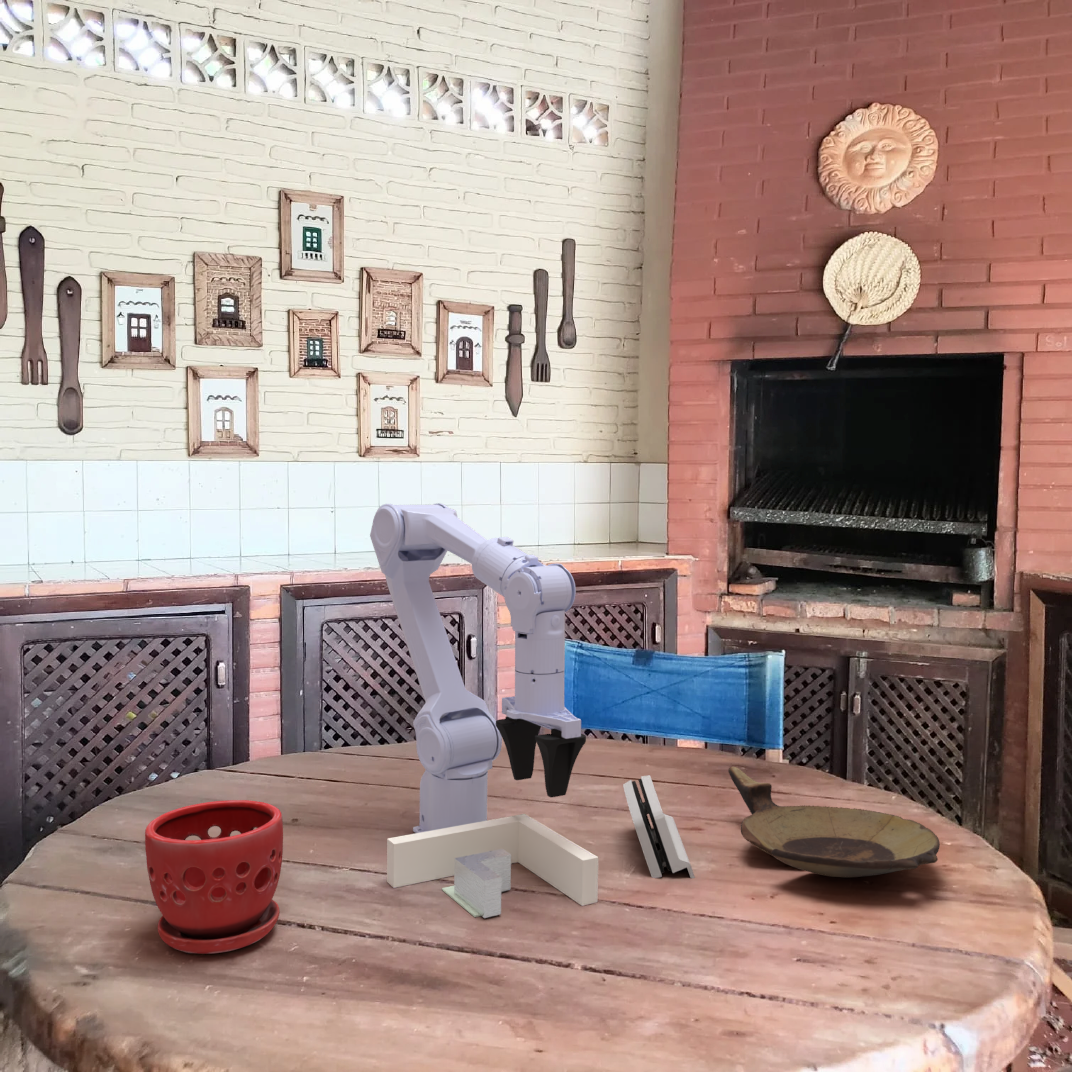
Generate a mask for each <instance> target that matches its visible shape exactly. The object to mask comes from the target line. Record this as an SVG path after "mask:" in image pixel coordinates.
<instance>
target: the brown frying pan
mask: <svg viewBox="0 0 1072 1072" xmlns="http://www.w3.org/2000/svg"><path fill="white" fill-rule="evenodd" d="M727 772H728V774H729V776H730V778H731V780H732V782H733V784H734V786H735V787H736V789H737V790H738V793H739V794H740V796H741V798H742V799H743V802H744V803H745V804H746V807H747V809H748V810H749V812H750V815H748V816H746V817H745V818H744V819H743V820H742V821H741V823H740V833H741V835H742V837H743V838H744V839H745V840H746V841H747V842H749V843H750V844H752V845H753V846H754V847H755V848H758V849H759V850H761V851H763V852H765V853H766V854H768V855H771V856H772V857H773V858H775V859H776V860H778V861H780V862H781V863H784V864H786V865H788V866H790V867H792V868H794V869H799V870H801V871H805V872H808V873H812V874H816V875H821V876H825V877H830V878H831V877H832V878H858V877H871V876H877V875H883V874H890V873H894V872H898V871H903V870H914V869H917V868H918V866H921V865H922V866H923V865H929V864H934V863H937V861H938V860H939V859H938V856H937V854H938V853H939V851H940V846H941V844H940V839H939V837H938V836H937V835H936V833H935V832H934V831H932V830H931V829H930V828H928V827H926V826H924V825H923V824H922V823H920V822H918V821H915V820H913V819H907V818H906V819H905V818H903V817H902V816H899V815H896V814H889V813H885V812H881V811H874V810H867V809H861V808H849V807H841V806H840V807H837V806H826V805H825V806H820V805H805V804H804V805H790V806H789V805H784V806H781V805H778V804H776V803H775V802H774V801H773V799H772V787H773V786H772V784H771V783H769V782H758V781H756V780H755V779H753V778H751V777H750V776H748V775H747V774H746V772H744V771H743V770H741V768H739V767H737V766H733V765H731V766H730V767H729V768H728V771H727Z"/></svg>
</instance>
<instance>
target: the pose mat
mask: <svg viewBox="0 0 1072 1072" xmlns="http://www.w3.org/2000/svg"><path fill="white" fill-rule="evenodd" d="M441 891H442V892H444V893H445V894H447V896H448V897H450V898H451V899H452V900H453V901H455V902H456V903H457V904H458V905H459V906H460V907H462V908H463V909H464V910H465V911H467V913H468V914H470V915H471V916H472V917H473V918H478V917H482V916H481V915H480V914H478V913H477V912H476V911H475V910H474V909H472V908H471V907H470V906H469V905H467V904H466V903H465V902H464V901H462V900H461V899H460V898H459V897H457V896H456V895H455V894H454V885H451V886H446V887H442V888H441Z"/></svg>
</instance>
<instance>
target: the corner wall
mask: <svg viewBox="0 0 1072 1072" xmlns="http://www.w3.org/2000/svg"><path fill="white" fill-rule="evenodd" d="M498 849H504V850H505V851H507V852H508V853H510V854H511V865H512V864H516V863H519V864H520V865H521V866H523V867H524V868H526V869H527V870H529V871H530V872H531V873H533V874H534V875H536V876H537V877H539V878H540V879H541V880H544V881H545V882H546V883H548V884H549V885H551V886H553V887H554V888H555V889H557V890H558V891H559V892H561V893H563V894H564V895H566V896H567V897H568V898H570V899H571V900H573V901H574V902H576V903H577V904H579V905H580V906H582V907H583V906H587V905H591V904H596V903H598V899H599V896H598V895H599V894H598V891H599V856H597V855H595V854H593V853H591V852H590V851H589V850H587V849H585V848H583V847H581V846H580V845H578V844H576V843H575V842H573V841H572V840H570V839H568V838H567V837H565V836H563V835H561V834H560V833H558V832H556V831H555V830H553V829H551V828H550V827H548V826H546V825H545V824H544V823H541V822H539V820H536V819H535V818H533V817H531V816H530V815H528V814H526V813H522V814H516V815H510V816H504V817H499V818H493V819H487V821H482V822H476V823H471V824H465V825H459V826H454V827H448V828H443V829H437V830H432V831H426V832H421V833H415V832H414V833H411V834H405V835H399V836H395V837H388V838H387V839H386V882H387V883H388V885H390V886H391V887H392V888H393V889H396V888H401V887H405V886H410V885H414V884H415V885H416V884H419V883H425V882H428V881H433V880H434V881H435V880H439V879H444V878H447V877H453V876H454V868H455V858H459V857H464V856H469V855H473V854H478V853H483V852H488V851H493V850H498Z"/></svg>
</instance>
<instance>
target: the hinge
mask: <svg viewBox="0 0 1072 1072" xmlns="http://www.w3.org/2000/svg"><path fill="white" fill-rule="evenodd" d="M637 780H638V783H639V787H640V789H641V790H640V791H641V792H642V796H643V798H642V796H641V794H640V791H639V788H638V785H637V783H636V780H632V779H630V780H628V781H626V782H625V783H623V784H622V785H623V786H622V787H623V791H624V796H625V799H626V802H627V806H628V810H629V812H630V813H629V814H630V816H631V819H632V822H633V826H634V829H635V831H636V834H637V837H638V840H639V843H640V847H641V850H642V852H643V856H644V859H645V861H646V864H647V867H648V870H649V874H650V876H651V878H652V879H653V878H654V879H658V878H662V877H663V875H662V874H664V873H665V869H664V868H667V871H668V872H669V871H671V872H672V874H675V873H677V872H679V871H682V870H684V869H687V871H688V874H689V877H690V879H695V878H696V876H695V874H694V871H693V868H692V865H691V861H690V859H689V856H688V854H687V851H686V849H685V845H684V844H683V843H684V842H683V840H682V838H681V835H680V831H679V830H678V827H677V825H676V822H675V819H674V817H673V816H671V815H668V814H665V813H664V811H663V809H662V806H661V803H660V800H659V797H658V794H657V791H656V788H655V785H654V783H653V780H652V777H651V775H643V776H641V775H640V778H638V779H637ZM643 801H644V802H643ZM648 815H649V817H648ZM649 818H650V820H649ZM651 824H652V825H651ZM652 827H653V828H652ZM656 844H658V845H659V848H660V849H659V850H658V848H657V846H656Z"/></svg>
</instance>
